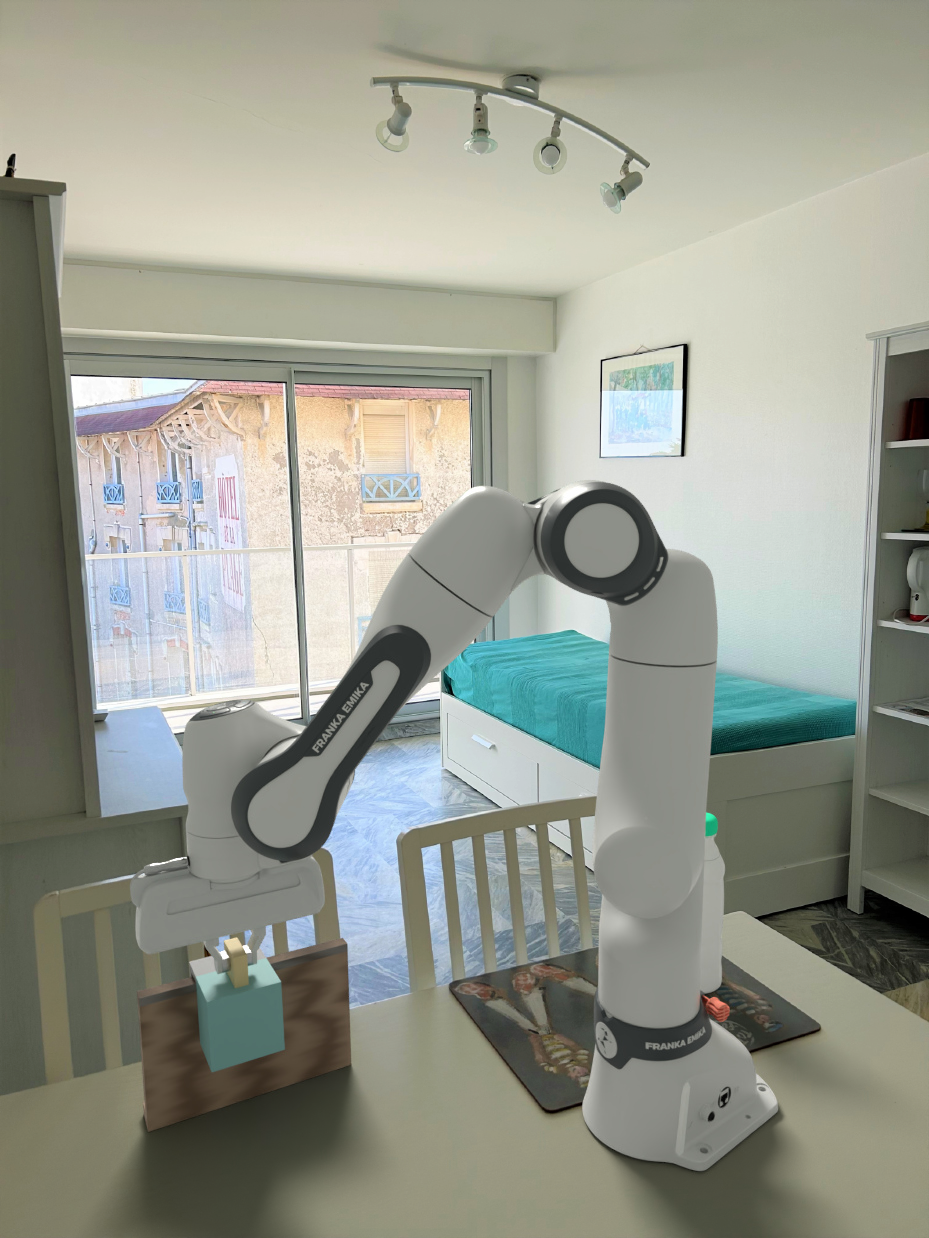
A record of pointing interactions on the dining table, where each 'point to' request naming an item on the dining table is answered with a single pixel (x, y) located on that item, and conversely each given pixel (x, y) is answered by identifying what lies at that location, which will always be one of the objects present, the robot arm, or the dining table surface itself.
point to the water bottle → (712, 910)
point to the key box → (238, 1008)
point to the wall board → (311, 1049)
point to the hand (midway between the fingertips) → (236, 966)
